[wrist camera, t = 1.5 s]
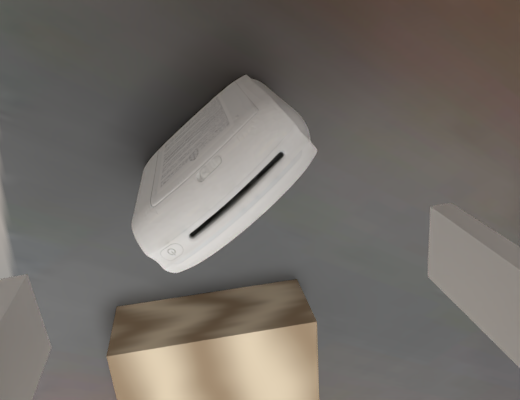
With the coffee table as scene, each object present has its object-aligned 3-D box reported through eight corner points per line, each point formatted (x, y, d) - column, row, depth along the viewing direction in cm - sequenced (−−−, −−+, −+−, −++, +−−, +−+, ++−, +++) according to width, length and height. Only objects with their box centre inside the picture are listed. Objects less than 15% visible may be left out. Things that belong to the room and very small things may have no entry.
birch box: (295, 277, 37) (316, 321, 32) (302, 409, 43) (321, 467, 37) (117, 304, 36) (106, 356, 30) (146, 439, 41) (142, 504, 35)
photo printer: (178, 209, 33) (180, 307, 22) (133, 167, 32) (110, 250, 20) (287, 111, 32) (348, 162, 21) (246, 63, 30) (288, 89, 19)
